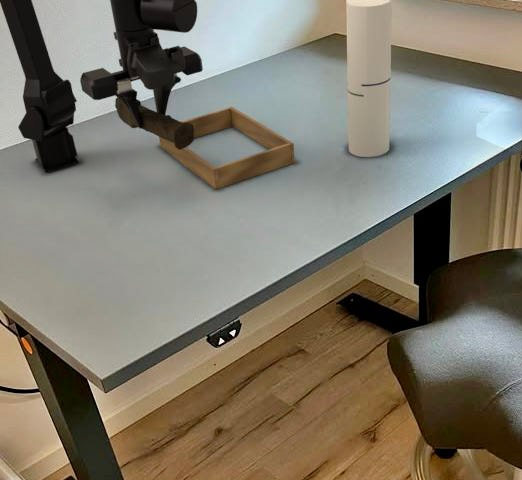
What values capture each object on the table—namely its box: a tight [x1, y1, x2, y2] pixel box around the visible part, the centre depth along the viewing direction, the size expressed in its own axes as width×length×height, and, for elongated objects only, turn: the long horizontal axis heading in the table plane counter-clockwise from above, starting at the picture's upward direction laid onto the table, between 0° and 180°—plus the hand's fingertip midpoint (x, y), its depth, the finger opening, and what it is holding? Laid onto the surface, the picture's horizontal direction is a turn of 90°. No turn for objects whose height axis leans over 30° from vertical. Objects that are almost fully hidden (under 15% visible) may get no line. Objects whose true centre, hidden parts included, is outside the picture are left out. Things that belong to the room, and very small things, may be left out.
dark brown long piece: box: [114, 97, 195, 150], centre depth 129 cm, size 19×4×5 cm, turn 40°
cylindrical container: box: [345, 0, 393, 158], centre depth 133 cm, size 7×7×25 cm
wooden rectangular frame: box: [158, 106, 296, 190], centre depth 143 cm, size 16×22×4 cm
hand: (151, 124), depth 130 cm, fingers closed on dark brown long piece, 3 cm apart
